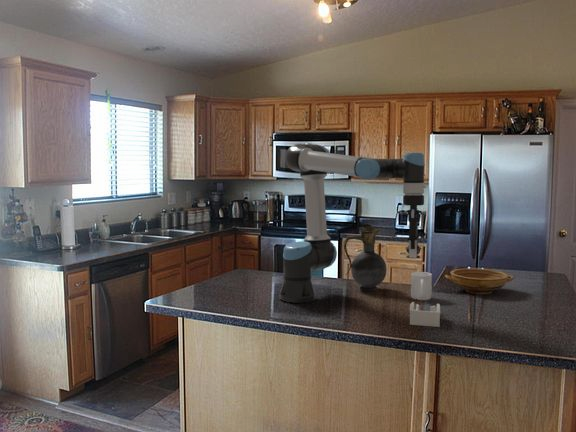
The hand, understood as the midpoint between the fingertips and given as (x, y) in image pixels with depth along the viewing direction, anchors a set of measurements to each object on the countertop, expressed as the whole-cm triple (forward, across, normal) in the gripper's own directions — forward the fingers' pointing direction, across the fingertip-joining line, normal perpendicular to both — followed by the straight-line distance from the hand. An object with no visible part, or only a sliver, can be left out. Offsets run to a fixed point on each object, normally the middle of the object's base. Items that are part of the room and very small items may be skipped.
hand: (413, 256), depth 196 cm
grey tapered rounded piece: (+1, 0, 0) cm, 1 cm away
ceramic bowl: (+22, +43, -26) cm, 55 cm away
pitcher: (+21, +32, +23) cm, 45 cm away
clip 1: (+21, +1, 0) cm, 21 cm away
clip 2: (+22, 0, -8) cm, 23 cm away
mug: (+22, +22, -2) cm, 31 cm away
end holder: (+22, -10, -5) cm, 24 cm away
